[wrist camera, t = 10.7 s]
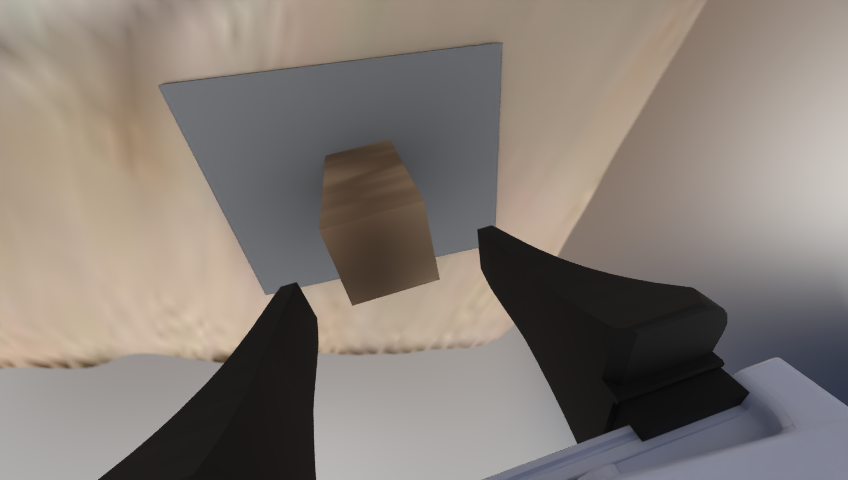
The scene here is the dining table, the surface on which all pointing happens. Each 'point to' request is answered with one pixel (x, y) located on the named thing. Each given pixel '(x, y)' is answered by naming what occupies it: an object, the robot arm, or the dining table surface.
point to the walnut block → (375, 223)
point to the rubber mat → (344, 147)
